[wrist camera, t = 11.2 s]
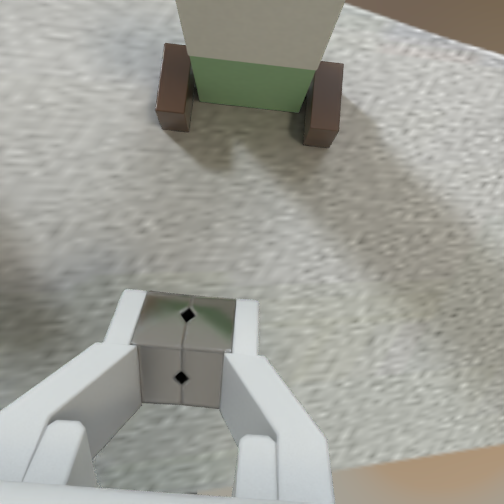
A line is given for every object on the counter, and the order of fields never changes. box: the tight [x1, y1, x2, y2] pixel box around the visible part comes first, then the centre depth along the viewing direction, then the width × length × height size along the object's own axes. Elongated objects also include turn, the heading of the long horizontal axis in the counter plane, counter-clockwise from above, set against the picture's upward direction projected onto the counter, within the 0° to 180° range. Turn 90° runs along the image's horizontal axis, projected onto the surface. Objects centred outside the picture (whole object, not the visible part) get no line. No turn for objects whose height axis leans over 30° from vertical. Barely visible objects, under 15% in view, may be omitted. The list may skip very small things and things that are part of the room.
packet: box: [176, 0, 345, 113], centre depth 19 cm, size 16×6×3 cm
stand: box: [155, 43, 344, 148], centre depth 26 cm, size 4×10×2 cm, turn 84°
